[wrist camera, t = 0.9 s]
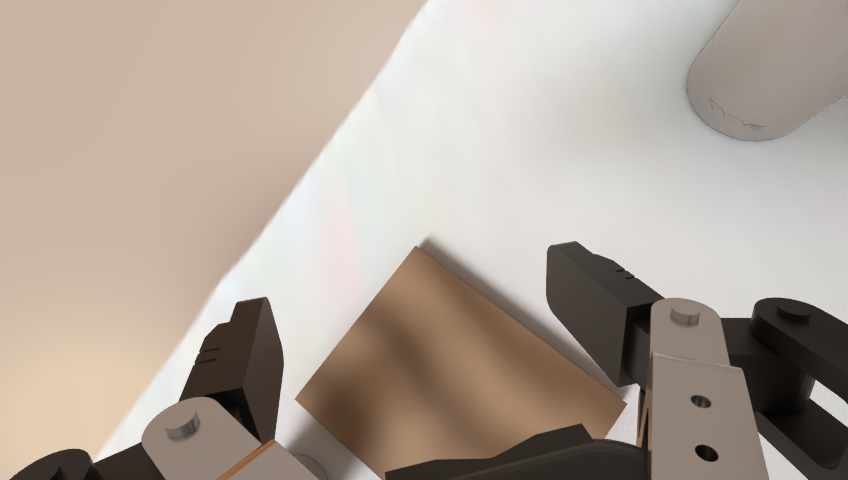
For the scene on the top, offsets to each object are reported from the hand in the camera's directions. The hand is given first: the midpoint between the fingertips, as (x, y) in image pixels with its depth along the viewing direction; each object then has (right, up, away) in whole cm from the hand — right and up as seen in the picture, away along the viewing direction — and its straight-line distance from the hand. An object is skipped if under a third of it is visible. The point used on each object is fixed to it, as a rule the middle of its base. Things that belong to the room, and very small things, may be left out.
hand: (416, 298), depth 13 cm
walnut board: (+2, -10, +19) cm, 21 cm away
